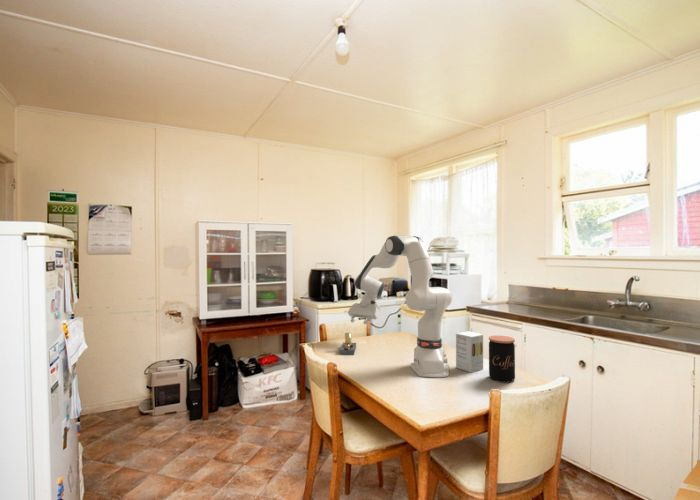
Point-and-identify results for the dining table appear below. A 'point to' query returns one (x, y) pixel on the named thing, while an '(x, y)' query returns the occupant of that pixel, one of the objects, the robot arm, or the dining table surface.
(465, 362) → the supplement box
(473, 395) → the dining table surface
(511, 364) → the coffee jar
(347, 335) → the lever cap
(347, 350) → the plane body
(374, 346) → the dining table surface
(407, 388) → the dining table surface
